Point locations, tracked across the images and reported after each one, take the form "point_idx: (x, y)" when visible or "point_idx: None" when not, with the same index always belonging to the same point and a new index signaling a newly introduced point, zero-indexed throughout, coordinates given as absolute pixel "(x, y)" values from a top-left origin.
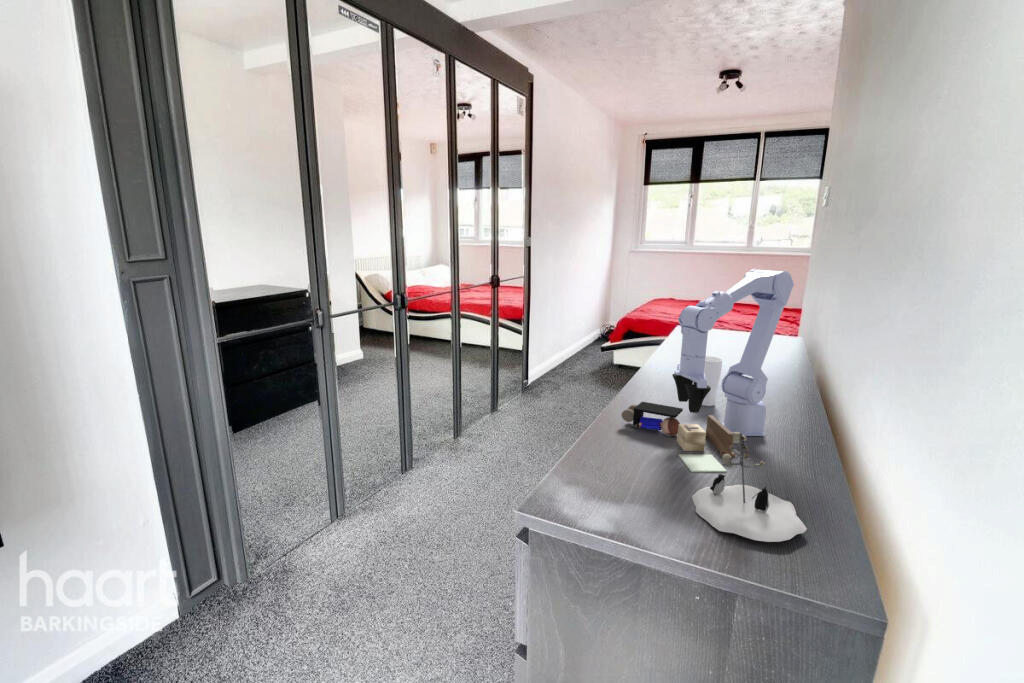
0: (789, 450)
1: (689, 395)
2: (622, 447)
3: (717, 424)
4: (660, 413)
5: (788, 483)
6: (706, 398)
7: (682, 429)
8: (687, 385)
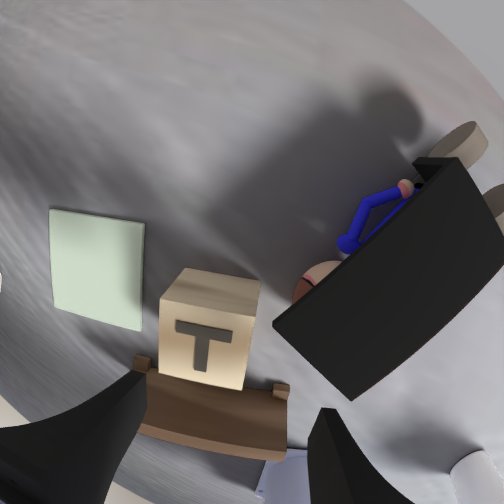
0: (181, 485)
1: (51, 421)
2: (243, 38)
3: (196, 435)
4: (340, 267)
5: (40, 386)
6: (465, 475)
7: (202, 304)
8: (5, 465)
